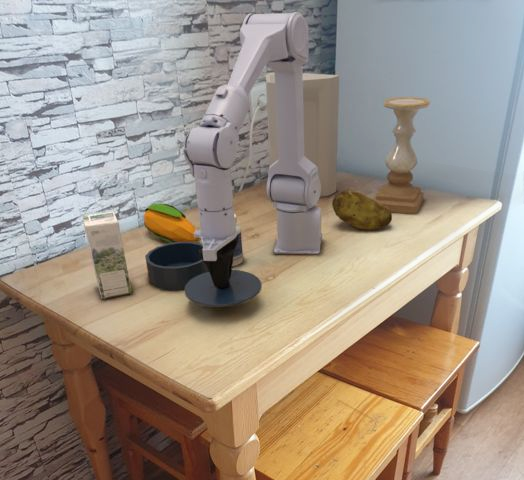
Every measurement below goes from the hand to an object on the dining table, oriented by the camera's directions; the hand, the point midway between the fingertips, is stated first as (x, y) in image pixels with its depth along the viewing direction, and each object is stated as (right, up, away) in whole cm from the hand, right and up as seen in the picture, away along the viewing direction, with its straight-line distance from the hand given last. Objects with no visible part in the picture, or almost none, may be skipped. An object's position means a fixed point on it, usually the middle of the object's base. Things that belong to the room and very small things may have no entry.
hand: (222, 282), depth 98 cm
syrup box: (-21, -1, +9) cm, 23 cm away
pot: (-9, +3, +13) cm, 16 cm away
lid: (0, -1, +1) cm, 1 cm away
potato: (+29, +16, +30) cm, 45 cm away
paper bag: (+15, +30, +53) cm, 62 cm away
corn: (-13, +13, +29) cm, 34 cm away
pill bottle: (0, +6, +18) cm, 19 cm away
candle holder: (+40, +24, +42) cm, 63 cm away
